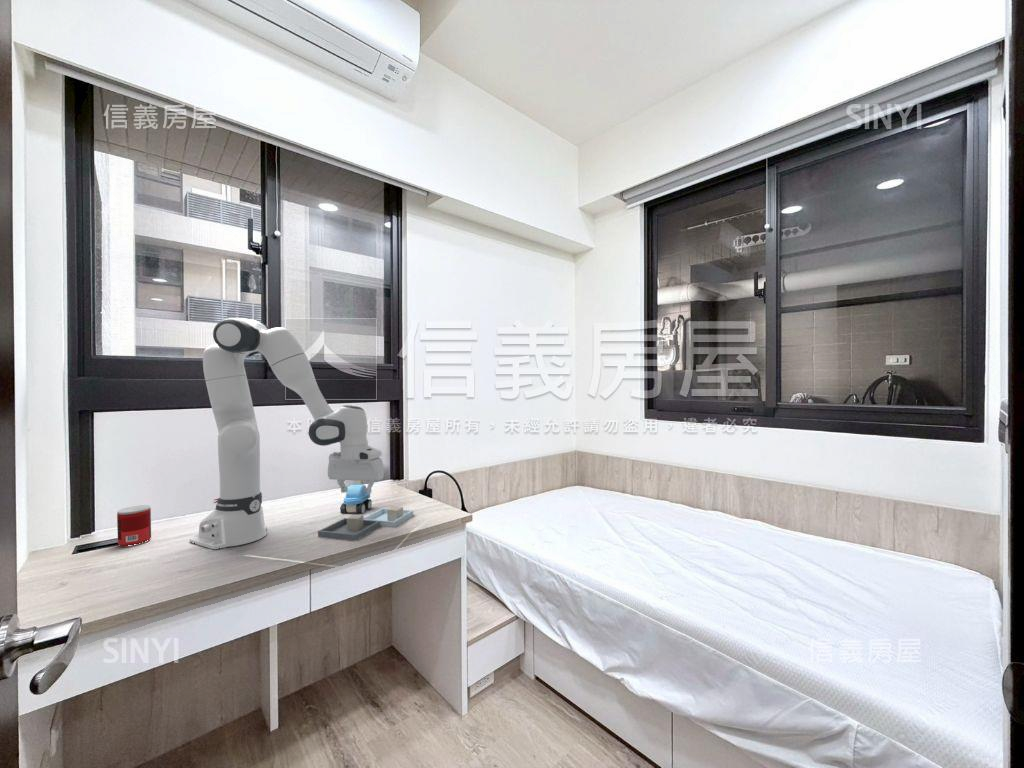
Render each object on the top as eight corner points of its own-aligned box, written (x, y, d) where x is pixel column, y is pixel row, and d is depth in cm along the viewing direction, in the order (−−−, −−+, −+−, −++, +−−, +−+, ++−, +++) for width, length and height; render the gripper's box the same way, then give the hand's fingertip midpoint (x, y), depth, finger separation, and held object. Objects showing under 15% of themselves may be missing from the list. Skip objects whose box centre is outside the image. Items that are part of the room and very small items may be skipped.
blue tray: (361, 525, 146) (360, 519, 146) (382, 514, 159) (382, 507, 159) (394, 529, 142) (394, 522, 142) (413, 516, 155) (413, 510, 155)
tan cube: (347, 530, 140) (346, 518, 140) (352, 526, 144) (352, 514, 144) (358, 530, 140) (358, 518, 140) (363, 526, 144) (363, 514, 144)
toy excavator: (379, 503, 173) (378, 462, 173) (360, 516, 157) (359, 471, 156) (359, 503, 174) (358, 462, 174) (339, 516, 157) (338, 470, 157)
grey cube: (387, 520, 149) (387, 509, 149) (393, 517, 153) (393, 506, 153) (397, 521, 148) (397, 510, 148) (403, 518, 152) (403, 507, 152)
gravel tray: (318, 538, 135) (317, 531, 135) (344, 524, 147) (344, 518, 147) (355, 542, 131) (355, 534, 131) (379, 528, 144) (379, 521, 144)
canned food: (157, 539, 136) (156, 505, 136) (129, 548, 129) (128, 513, 129) (140, 537, 138) (139, 504, 138) (111, 546, 131) (110, 511, 131)
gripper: (322, 453, 142) (324, 494, 142) (374, 455, 136) (376, 496, 136) (335, 450, 148) (336, 489, 148) (385, 451, 142) (387, 491, 142)
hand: (356, 492), depth 142 cm, fingers open, 8 cm apart
